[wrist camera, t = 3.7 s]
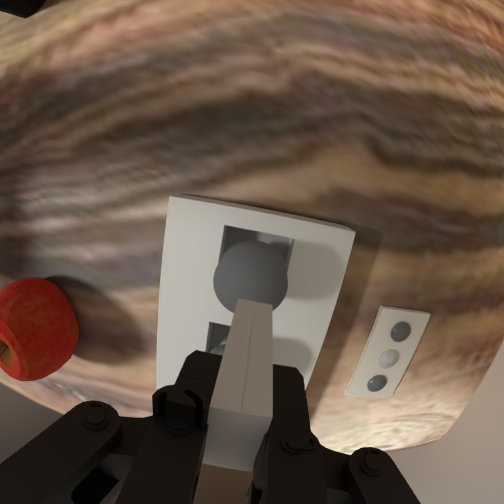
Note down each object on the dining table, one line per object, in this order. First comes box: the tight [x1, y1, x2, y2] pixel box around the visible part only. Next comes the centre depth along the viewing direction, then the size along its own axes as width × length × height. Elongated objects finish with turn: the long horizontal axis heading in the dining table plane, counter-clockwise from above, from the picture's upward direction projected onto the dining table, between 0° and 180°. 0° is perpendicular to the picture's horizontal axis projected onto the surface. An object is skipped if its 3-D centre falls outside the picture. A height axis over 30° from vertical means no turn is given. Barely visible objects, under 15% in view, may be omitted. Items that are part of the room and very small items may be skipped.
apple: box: [0, 278, 80, 381], centre depth 22 cm, size 11×11×11 cm
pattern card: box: [344, 305, 431, 398], centre depth 26 cm, size 6×11×1 cm, turn 170°
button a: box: [213, 240, 288, 313], centre depth 20 cm, size 5×5×5 cm
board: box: [157, 194, 356, 390], centre depth 25 cm, size 14×24×3 cm, turn 169°
